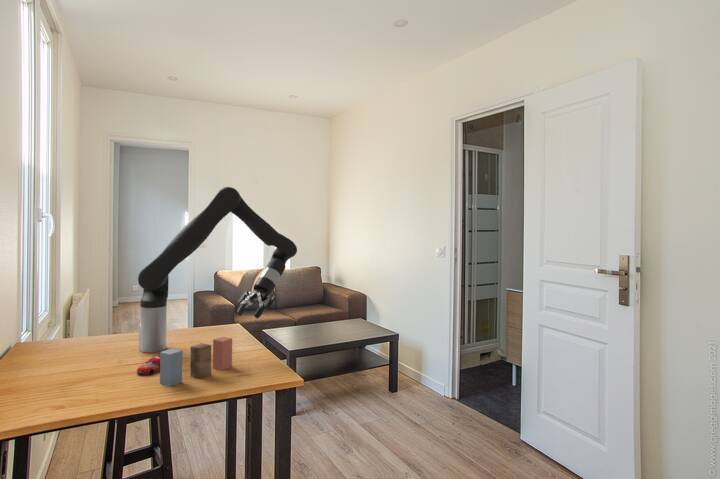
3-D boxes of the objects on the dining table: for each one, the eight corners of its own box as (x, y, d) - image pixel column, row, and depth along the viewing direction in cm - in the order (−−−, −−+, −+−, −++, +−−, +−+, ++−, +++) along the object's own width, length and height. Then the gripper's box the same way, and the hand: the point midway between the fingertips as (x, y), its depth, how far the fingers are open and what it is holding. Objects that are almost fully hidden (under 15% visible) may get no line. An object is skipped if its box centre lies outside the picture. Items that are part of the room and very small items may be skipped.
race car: (146, 377, 137) (146, 365, 137) (133, 375, 139) (133, 363, 139) (175, 364, 150) (175, 353, 149) (163, 363, 151) (163, 352, 151)
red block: (212, 368, 146) (213, 339, 146) (222, 364, 150) (222, 336, 150) (222, 370, 144) (222, 341, 144) (231, 366, 148) (232, 338, 148)
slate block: (160, 383, 131) (160, 352, 131) (172, 379, 135) (172, 348, 135) (169, 386, 129) (170, 354, 129) (182, 381, 133) (182, 350, 133)
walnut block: (190, 376, 138) (190, 346, 138) (201, 372, 142) (201, 343, 142) (200, 379, 136) (200, 348, 136) (211, 374, 140) (211, 345, 140)
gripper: (249, 274, 168) (227, 308, 158) (277, 277, 161) (257, 312, 152) (258, 286, 173) (237, 319, 163) (285, 289, 166) (266, 323, 157)
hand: (247, 315), depth 157 cm, fingers open, 8 cm apart
